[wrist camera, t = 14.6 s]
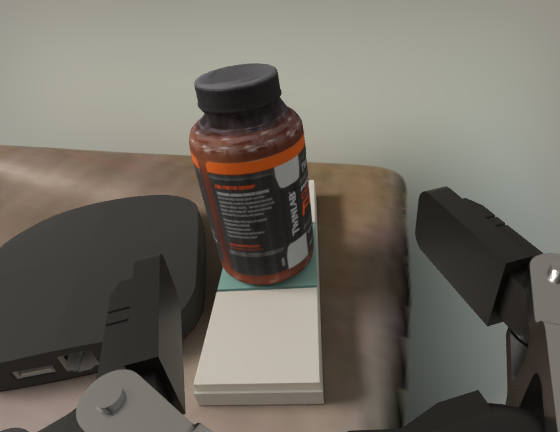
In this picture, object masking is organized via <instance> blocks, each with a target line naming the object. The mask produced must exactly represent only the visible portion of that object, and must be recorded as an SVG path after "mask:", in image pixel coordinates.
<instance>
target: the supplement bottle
mask: <svg viewBox="0 0 560 432" xmlns="http://www.w3.org/2000/svg"><path fill="white" fill-rule="evenodd" d="M195 90H196V94H197V99H198V107H199V108H200V109H201V110H202V111H203V112H204V113H205V114H204V116H203V117H202V118H200V119H199V120H198V121H197V122H196V123H195V124H194V126H193V127H192V129H191V132H190V136H189V145H190V151H191V155H192V159H193V162H194V167H195V170H196V174H197V178H198V181H199V185H200V189H201V193H202V197H203V200H204V204H205V207H206V211H207V215H208V218H209V223H210V226H211V229H212V233H213V236H214V240H215V244H216V248H217V251H218V255H219V258H220V260H221V263H222V266H223V268H224V269H225V271H226V272H227V273H228V274H229V275H230V276H232V277H233V278H234V279H236V280H238V281H241V282H244V283H247V284H254V285H268V284H274V283H278V282H281V281H285V280H287V279H289V278H291V277H293V276H295V275H296V274H298V273H299V272H301V271H302V270H303V269H304V268H305V267H306V266H307V265H308V264H309V262H310V260H311V258H312V255H313V249H314V235H313V222H312V213H311V203H310V193H309V181H308V170H307V160H306V147H305V140H304V131H303V125H302V120H301V119H300V117H299V115H298V114H297V113H296V112H295V111H294V110H293V109H291V108H289V107H287V106H286V105H285V103H284V102H283V101H282V100H281V98H280V96H281V89H280V85H279V78H278V72H277V69H276V68H275V67H273V66H271V65H268V64H257V63H256V64H242V65H234V66H228V67H224V68H220V69H217V70H213V71H210V72H208V73H205V74H203V75H201V76H200V77H199V78H197V80H195Z"/></svg>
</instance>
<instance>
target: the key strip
mask: <svg viewBox="0 0 560 432" xmlns="http://www.w3.org/2000/svg"><path fill="white" fill-rule="evenodd" d="M308 181H309V193H310V203H311V213H312V222H313V235H314V249H313V255H312V258H311V260H310V262H309V264H308V265H307V266H306V267H305V268H304V269H303V270H302V271H301V272H299V273H298V274H296V275H295V276H293V277H291V278H289V279H287V280H285V281H281V282H278V283H274V284H268V285H254V284H247V283H244V282H241V281H238V280H236V279H234V278H233V277H232V276H230V275H229V274H228V273H227V272H226V271H225V269H224V268H223V269H222V273H221V277H220V281H219V285H218V289H217V290H218V292H217V293H216V297H215V301H214V305H213V309H212V313H211V317H210V321H209V325H208V329H207V333H206V337H205V341H204V345H203V349H202V353H201V357H200V360H199V364H198V368H197V372H196V376H195V380H194V384H193V385H194V387H195V392H194V395H195V397H196V400H197V402H198V404H199V405H281V404H324V392H323V365H322V337H321V310H320V282H319V255H318V227H317V200H316V185H315V186H314V180H308Z"/></svg>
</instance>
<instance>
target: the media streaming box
mask: <svg viewBox="0 0 560 432" xmlns="http://www.w3.org/2000/svg"><path fill="white" fill-rule="evenodd" d="M160 253H161V254H162V255H163V256H164V259H165V261H166V264H167V267H168V269H169V272H170V275H171V277H172V280H173V283H174V285H175V288H176V291H177V294H178V298H179V303H180V310H181V329H182V339H183V338H185V337H186V336H187V335H188V333H189V332H190V331H191V330H192V329H193V328H194V326H195V325H196V323H197V322H198V320H199V318H200V316H201V314H202V311H203V307H204V294H205V274H206V255H205V237H204V228H203V224H202V221H201V217H200V214H199V211H198V207H197V205H196V204H195V203H194V202H192V201H190V200H188V199H185V198H182V197H178V196H171V195H150V196H138V197H129V198H122V199H116V200H110V201H105V202H100V203H95V204H91V205H87V206H83V207H80V208H76V209H73V210H70V211H66V212H63V213H60V214H57V215H55V216H53V217H50V218H48V219H46V220H44V221H42V222H40V223H38V224H36V225H34V226H32V227H30V228H28V229H27V230H25V231H23V232H21V233H20V234H18V235H17V236H15V237H14V238H12V239H11V240H9V241H8V242H6V243H5V244H4V245H3V246H2V247H1V248H0V391H4V390H10V389H16V388H21V387H27V386H32V385H38V384H43V383H48V382H53V381H58V380H63V379H68V378H73V377H77V376H82V375H86V374H91V373H95V372H98V368H99V362H100V355H101V349H102V343H103V336H104V330H105V328H106V325H105V324H106V317H107V315H108V312H107V311H108V305H109V298H110V296H111V294H112V292H113V291H114V289H115V288H116V286H117V285H118V283H119V282H120V281H124V280H128V279H132V278H133V268H134V261H135V259H139V258H143V257H148V256H152V255H156V254H160Z"/></svg>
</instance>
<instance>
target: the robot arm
mask: <svg viewBox="0 0 560 432" xmlns="http://www.w3.org/2000/svg"><path fill="white" fill-rule="evenodd" d="M415 235H416V240H417V243H418V245H419V247H420V249H421V250H422V251H423V253H424V254H425V255H426V256H427V257H428V258H429V259H430V261H431V262H432V263H433V264H434V265H435V266H436V268H437V269H438V270H439V271H440V272H441V273H442V275H443V276H444V277H445V278H446V279H447V280H448V281H449V283H451V285H452V286H453V287H454V288H455V289H456V291H457V292H458V293H459V294H460V295H461V296H462V298H463V299H464V300H465V301H466V302H467V303H468V304H469V306H470V307H471V308H472V309H473V310H474V311H475V313H476V314H477V315H478V316H479V317H480V318H481V319H482V321H483V322H484V323H485V324H486V325H487V326H490V325H493V324H497V323H500V322H504V323H505V324H506V325H507V326H508V329H507V333H506V355H507V399H506V405H503V404H492V403H487V402H486V400H485V399H484V397H483V396H482V395H481V393H480V392H479V391H478V390H477V391H474V392H471V393H467V394H464V395H461V396H458V397H455V398H452V399H448V400H446V401H442V402H439V403H437V404H435V405H434V406H433V407H432V408H430V409H428V410H427V411H426V412H424V413H423V414H421V415H420V416H418V417H417V418H416V419H414V420H413V421H412V422H410V423H408V424H407V425H406V426H404V427H402V428H399V429H386V430H358V431H348V432H560V254H554V253H547V254H543V253H542V252H541V251H540V250H538V249H537V248H536V247H535V246H533V245H532V244H531V243H529V242H528V241H527V240H526V239H524V238H523V237H522V236H521V235H519V234H518V233H517V232H515V231H514V230H513V229H511V228H510V227H509V226H508V225H505V223H504V222H503V221H502V220H500V219H499V218H498V217H495V215H494V214H493V213H492V212H490V211H489V210H488V209H486V208H485V207H484V206H483V205H481V204H478V203H476V202H473V201H471V200H468V199H466V198H464V199H462V198H461V197H460V196H458V195H457V194H456V193H455V192H454V191H452V190H451V189H450V188H448V187H441V188H437V189H433V190H429V191H425V192H422V193H421V194H420V196H419V202H418V212H417V220H416V231H415ZM107 312H108V315H107V317H106V324H105V325H106V328H105V330H104V336H103V343H102V349H101V355H100V362H99V368H98V375H97V379H96V380H95V381H94V382H93V383H92V384H91V385H90V386H89V387H88V388H87V389H86V390H85V392H84V393H83V394H82V396H81V398H80V400H79V402H78V405H77V408H76V409H74V410H73V411H72V412H71V413H69V414H67V415H66V416H64V417H63V418H61V419H59V420H57V421H56V422H54V423H52V424H50V425H49V426H47V427H45V428H44V429H42V430H40V431H38V432H212V431H211V430H209V429H208V428H207V427H206V426H204V425H203V424H201V423H197V424H196V425H195V424H193V423H192V422H190V421H189V420H188V419H187V418H186V417H185V416H184V415H183V414H185V392H184V371H183V350H182V329H181V310H180V303H179V298H178V294H177V291H176V288H175V285H174V283H173V280H172V277H171V275H170V272H169V269H168V267H167V264H166V261H165V259H164V256H163V255H162V254H161V253H160V254H156V255H152V256H148V257H143V258H139V259H135V261H134V268H133V278H132V279H128V280H124V281H120V282H119V283H118V285H117V286H116V288H115V289H114V291H113V292H112V294H111V296H110V298H109V305H108V311H107ZM0 432H28V431H27V430H25V429H22V428H10V429H6V430H3V431H0Z"/></svg>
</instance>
